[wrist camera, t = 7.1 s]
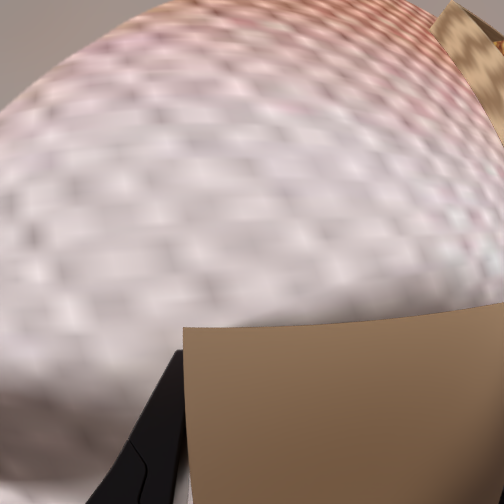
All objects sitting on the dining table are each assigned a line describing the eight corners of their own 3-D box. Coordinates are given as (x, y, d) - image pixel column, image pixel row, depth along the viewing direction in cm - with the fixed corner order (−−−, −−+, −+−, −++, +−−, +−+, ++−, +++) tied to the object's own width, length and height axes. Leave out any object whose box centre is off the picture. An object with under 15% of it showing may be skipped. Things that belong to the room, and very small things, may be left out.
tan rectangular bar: (269, 408, 15) (483, 543, 2) (193, 412, 14) (219, 641, 1) (267, 336, 16) (516, 299, 3) (191, 337, 15) (182, 328, 2)
